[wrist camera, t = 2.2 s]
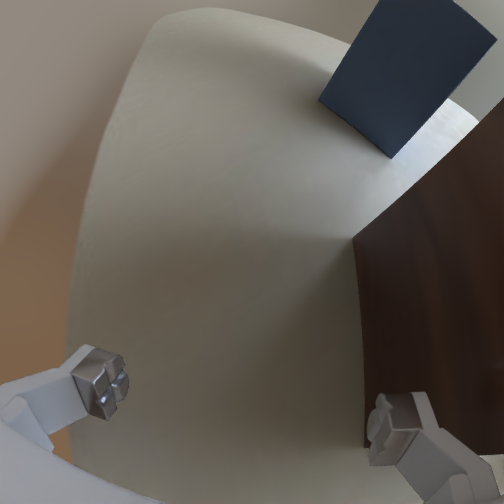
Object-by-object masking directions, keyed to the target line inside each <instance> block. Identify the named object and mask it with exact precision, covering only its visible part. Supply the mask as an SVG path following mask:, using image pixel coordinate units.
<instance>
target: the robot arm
mask: <svg viewBox="0 0 504 504" xmlns="http://www.w3.org/2000/svg"><path fill="white" fill-rule="evenodd" d="M124 366H125V362H124V358H123V357H122V356H120V355H117V354H114V353H111V352H108V351H105V350H102V349H99V348H95V347H93V346H90V345H87V344H86V345H82V346H81V347H80V348H79V349H78V350H77V351H76V352H75V353H74V354H73V355H72V356H71V357H70V358H69V359H67V360H66V361H65V362H64V363H63V364H62V365H61V366H60V367H59V368H58V369H57V368H52V369H49V370H46V371H43V372H40V373H36V374H33V375H30V376H27V377H23V378H20V379H17V380H13V381H10V382H6V383H3V384H2V385H1V386H0V504H167V503H163V502H160V501H157V500H154V499H151V498H148V497H146V496H143V495H140V494H137V493H135V492H132V491H130V490H127V489H125V488H122V487H120V486H117V485H115V484H113V483H110V482H108V481H106V480H103V479H101V478H99V477H97V476H95V475H93V474H91V473H89V472H87V471H85V470H83V469H81V468H79V467H77V466H75V465H73V464H71V463H69V462H67V461H66V460H64V459H62V458H60V457H58V456H57V455H55V454H53V453H52V451H53V450H54V445H53V443H52V442H51V440H50V439H49V437H48V435H50V434H52V433H54V432H56V431H58V430H60V429H62V428H64V427H66V426H68V425H70V424H72V423H74V422H76V421H77V420H79V419H81V418H83V417H85V416H87V415H88V414H90V415H93V416H96V417H98V418H101V419H104V420H106V421H109V420H110V418H111V417H112V415H113V414H114V412H115V411H116V410H117V404H116V403H117V402H120V401H122V400H124V398H125V396H126V395H127V393H128V389H129V377H128V374H127V373H126V372H125V371H124V370H123V368H124ZM375 402H376V408H375V409H374V410H372V411H371V413H370V416H369V418H368V423H367V439H368V440H369V441H370V442H371V443H372V444H371V446H370V448H369V457H370V466H387V465H396V468H397V469H398V470H399V471H400V473H401V474H402V475H403V476H404V478H405V479H406V480H407V481H408V482H409V484H410V485H411V486H412V487H413V489H414V490H415V491H416V492H417V494H418V495H419V496H420V497H421V498H422V500H423V501H424V502H425V503H424V504H504V495H501V496H500V492H499V489H498V486H497V483H496V480H495V477H494V474H493V471H492V468H491V465H490V464H488V463H487V462H486V461H484V460H483V459H482V458H481V457H479V456H478V455H477V454H476V453H474V452H473V451H472V450H470V449H469V448H468V447H467V446H465V445H464V444H463V443H462V442H460V441H459V440H458V439H456V438H455V437H454V436H453V435H451V434H450V433H449V432H448V431H446V430H445V429H444V428H439V426H438V423H437V421H436V418H435V415H434V412H433V410H432V407H431V404H430V402H429V399H428V396H427V394H426V393H425V392H410V393H408V392H407V393H380V394H379V395H378V397H377V399H376V401H375Z"/></svg>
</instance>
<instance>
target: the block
mask: <svg viewBox="0 0 504 504" xmlns="http://www.w3.org/2000/svg"><path fill="white" fill-rule="evenodd" d="M496 41H497V38H496V37H495V36H494V35H493V34H491V33H490V32H489V31H488V30H487V29H486V28H485V27H484V26H483V25H482V24H481V23H480V22H478V21H477V20H476V19H475V18H473V16H471V15H470V14H469V13H468V12H467V11H465V10H464V9H463V8H462V7H460V6H459V5H458V4H457V3H455V2H454V1H453V0H379V2H378V3H377V5H376V6H375V8H374V10H373V11H372V13H371V14H370V16H369V18H368V19H367V21H366V22H365V24H364V26H363V27H362V29H361V30H360V32H359V34H358V35H357V37H356V38H355V40H354V42H353V43H352V45H351V46H350V48H349V50H348V51H347V53H346V55H345V56H344V58H343V59H342V61H341V63H340V64H339V66H338V68H337V69H336V71H335V72H334V74H333V76H332V77H331V79H330V81H329V82H328V84H327V86H326V87H325V89H324V91H323V92H322V94H321V96H320V97H319V99H318V101H320V102H321V103H323V104H324V105H325V106H327V107H328V108H329V109H331V110H332V111H334V112H335V113H336V114H338V115H339V116H340V117H341V118H343V119H344V120H345V121H347V122H348V123H349V124H350V125H352V126H353V127H354V128H356V129H357V130H358V131H359V132H360V133H362V134H363V135H364V136H365V137H367V138H368V139H369V140H370V141H371V142H373V143H374V144H375V145H376V146H377V147H378V148H380V149H381V150H382V151H383V152H384V153H385V154H386V155H388V156H389V157H390V158H391V159H392V158H393V157H394V156H395V155H396V154H397V153H398V152H399V151H400V149H401V148H402V147H403V146H404V145H405V144H406V143H407V142H408V141H409V140H410V139H411V138H412V137H413V136H414V134H415V133H416V132H417V131H418V130H419V129H420V128H421V127H422V126H423V125H424V124H425V122H426V121H427V120H428V119H429V118H430V117H431V116H432V115H433V114H434V113H435V111H436V110H437V109H438V108H439V107H440V106H441V105H442V104H443V103H444V101H445V100H446V99H447V98H448V97H449V96H450V95H451V94H452V93H453V91H454V90H455V89H456V88H457V87H458V85H460V83H461V82H462V81H463V80H464V79H465V78H466V77H467V75H468V74H469V73H470V72H471V71H472V70H473V68H474V67H475V66H476V65H477V64H478V63H479V61H480V60H481V59H482V58H483V57H484V56H485V54H486V53H487V52H488V51H489V50H490V48H491V47H492V46H493V45H494V44H495V42H496Z"/></svg>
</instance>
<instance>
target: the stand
mask: <svg viewBox="0 0 504 504" xmlns="http://www.w3.org/2000/svg"><path fill="white" fill-rule="evenodd" d="M353 245H354V253H355V261H356V269H357V277H358V286H359V296H360V307H361V319H362V333H363V349H364V372H365V445H364V447H365V448H368V449H369V448H370V446H371V444H372V443H371V442H370V441H369V440H368V439H367V423H368V418H369V416H370V413H371V411H372V410H374V409H375V408H376V402H375V401H376V399H377V397H378V395H379V394H380V393H407V392H408V393H410V392H425V393H426V394H427V396H428V399H429V402H430V404H431V407H432V410H433V412H434V415H435V418H436V421H437V423H438V426H439V428H444V429H445V430H446V431H448V432H449V433H450V434H451V435H453V436H454V437H455V438H456V439H458V440H459V441H460V442H462V443H463V444H464V445H465V446H467V447H468V448H469V449H470V450H472V451H473V452H474V453H476V454H477V455H499V454H504V98H503V99H502V100H501V101H500V102H499V103H498V104H497V105H496V106H495V107H494V108H493V109H492V110H491V111H490V112H489V113H488V114H487V115H486V116H485V117H484V118H483V119H482V120H481V121H480V122H479V123H478V124H477V125H476V126H475V127H474V128H473V129H472V130H471V131H470V132H469V133H468V134H467V135H466V136H465V137H464V138H463V139H462V140H461V141H460V142H459V143H458V144H457V145H456V146H455V147H454V148H453V149H452V150H451V151H450V152H449V153H447V154H446V155H445V156H444V157H443V158H442V159H441V160H440V161H439V162H438V163H437V164H436V165H435V166H434V167H433V168H431V169H430V170H429V171H428V172H427V173H426V174H425V175H424V176H423V177H422V178H421V179H419V180H418V181H417V182H416V183H415V184H414V185H413V186H412V187H411V188H409V189H408V190H407V191H406V192H405V193H404V194H403V195H402V196H401V197H399V198H398V199H397V200H396V201H395V202H394V203H393V204H391V205H390V206H389V207H388V208H387V209H386V210H385V211H383V212H382V213H381V214H380V215H379V216H378V217H376V218H375V219H374V220H373V221H372V222H371V223H369V224H368V225H367V226H366V227H365V228H364V229H362V230H361V231H360V232H359V233H358V234H356V235H355V236H354V237H353Z"/></svg>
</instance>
